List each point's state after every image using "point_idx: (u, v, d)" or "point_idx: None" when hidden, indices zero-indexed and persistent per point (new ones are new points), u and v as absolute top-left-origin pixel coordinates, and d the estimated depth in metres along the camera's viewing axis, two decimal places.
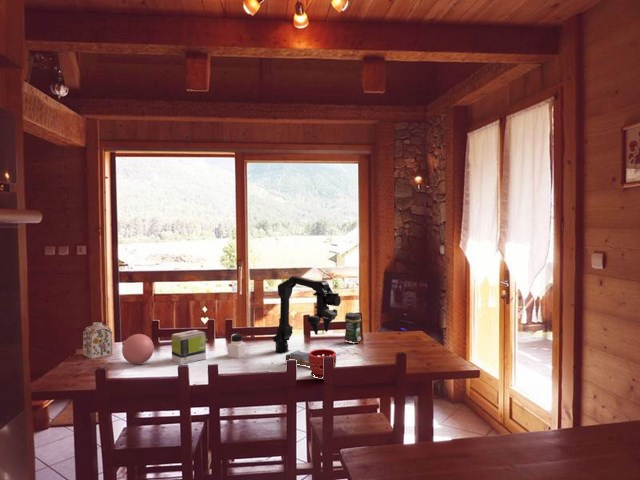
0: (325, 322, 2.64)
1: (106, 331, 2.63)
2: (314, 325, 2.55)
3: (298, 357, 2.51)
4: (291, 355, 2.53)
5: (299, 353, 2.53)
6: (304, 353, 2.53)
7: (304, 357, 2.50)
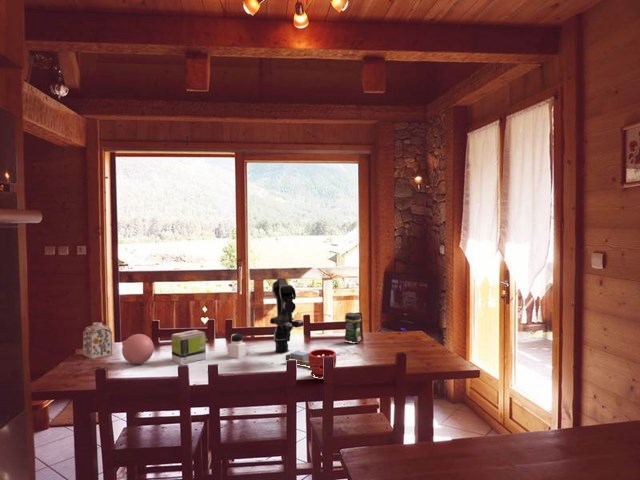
0: None
1: (106, 331, 2.63)
2: None
3: (298, 357, 2.51)
4: (291, 355, 2.53)
5: (299, 353, 2.53)
6: (304, 353, 2.53)
7: (304, 357, 2.50)
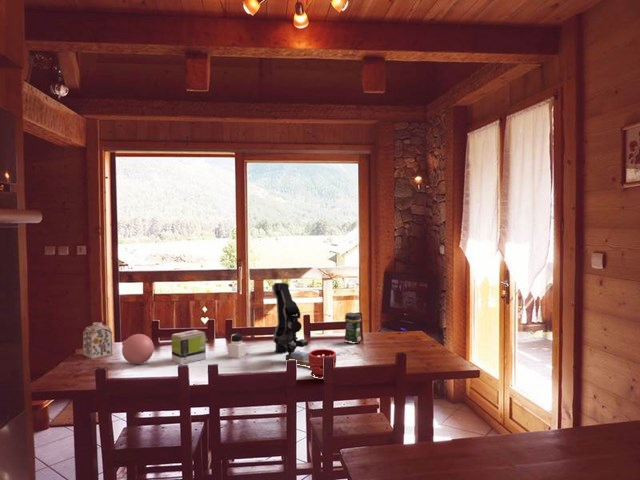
0: None
1: (106, 331, 2.63)
2: None
3: (298, 357, 2.50)
4: (291, 355, 2.53)
5: (299, 353, 2.53)
6: (304, 353, 2.53)
7: (304, 357, 2.50)
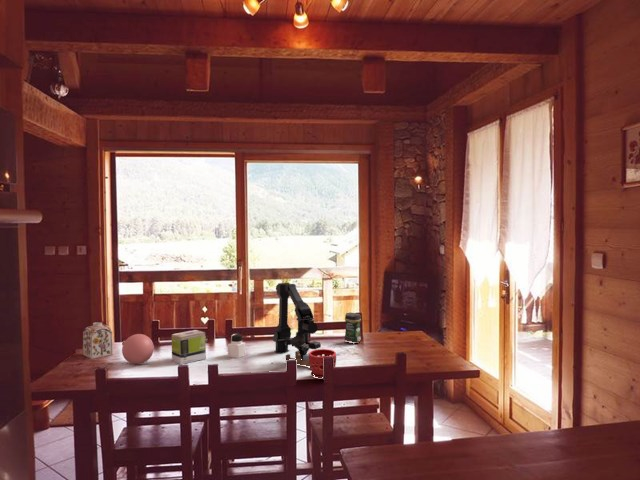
0: None
1: (106, 331, 2.63)
2: None
3: None
4: (304, 357, 2.49)
5: None
6: None
7: None
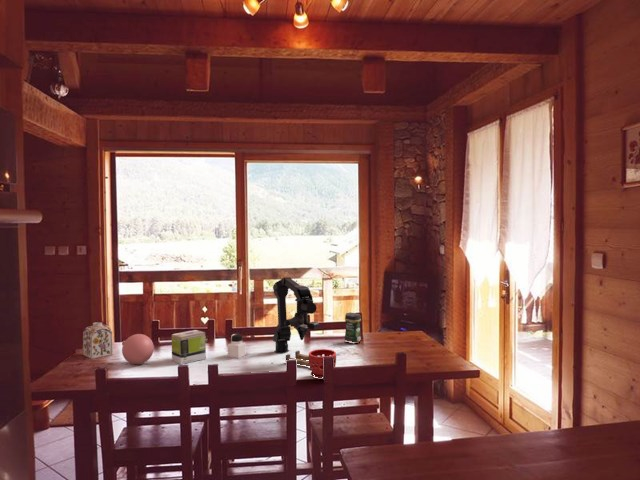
0: None
1: (106, 331, 2.63)
2: None
3: None
4: None
5: (318, 356, 2.46)
6: (323, 356, 2.46)
7: None
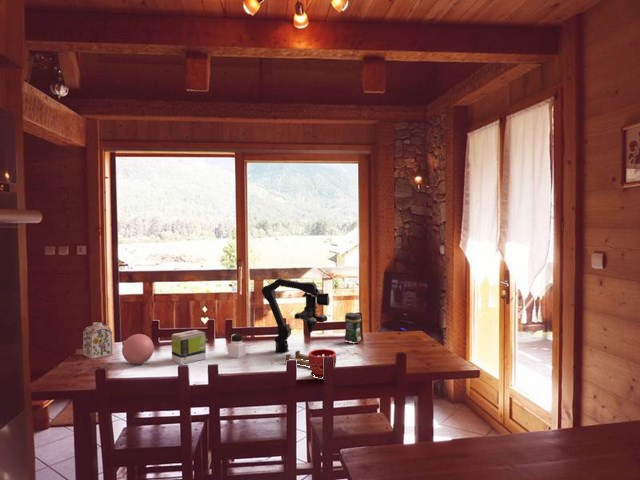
0: None
1: (106, 331, 2.63)
2: None
3: None
4: None
5: (318, 356, 2.46)
6: (323, 356, 2.46)
7: None
